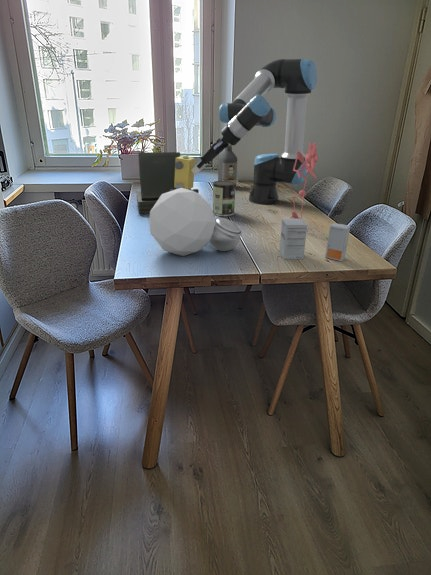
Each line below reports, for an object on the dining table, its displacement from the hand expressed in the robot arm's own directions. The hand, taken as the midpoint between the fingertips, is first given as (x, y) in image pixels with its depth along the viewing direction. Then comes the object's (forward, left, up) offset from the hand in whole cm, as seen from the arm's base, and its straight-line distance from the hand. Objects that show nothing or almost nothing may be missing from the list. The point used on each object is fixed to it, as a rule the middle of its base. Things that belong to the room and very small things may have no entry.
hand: (193, 172), depth 175 cm
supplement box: (-46, +19, -22) cm, 55 cm away
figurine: (-45, -14, -22) cm, 52 cm away
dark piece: (+23, -17, -22) cm, 36 cm away
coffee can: (-6, -21, -22) cm, 31 cm away
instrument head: (+5, -1, -8) cm, 9 cm away
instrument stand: (+5, -1, -22) cm, 22 cm away
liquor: (+10, -72, -22) cm, 75 cm away
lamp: (-14, +30, -22) cm, 39 cm away
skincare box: (-61, +15, -22) cm, 67 cm away
